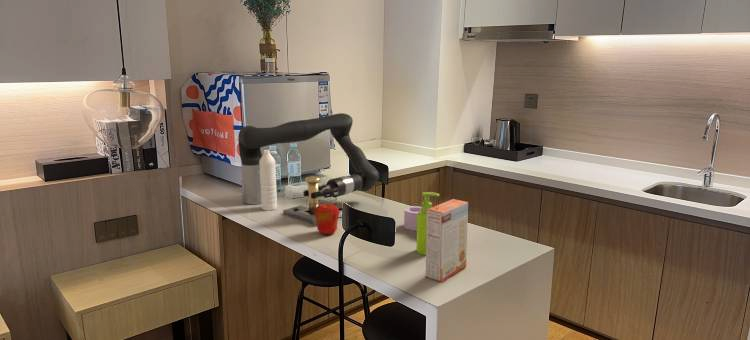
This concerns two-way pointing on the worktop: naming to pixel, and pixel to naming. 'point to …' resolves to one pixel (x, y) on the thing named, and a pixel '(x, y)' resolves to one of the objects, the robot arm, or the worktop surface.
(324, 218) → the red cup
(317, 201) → the pin
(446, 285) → the worktop surface
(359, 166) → the robot arm
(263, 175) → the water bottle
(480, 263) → the worktop surface
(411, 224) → the purple block with hole
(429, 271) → the cracker box
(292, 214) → the inner chain end
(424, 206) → the soap dispenser
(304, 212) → the outer chain end
